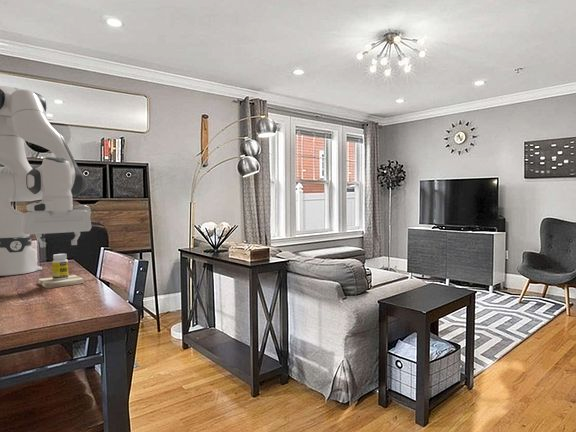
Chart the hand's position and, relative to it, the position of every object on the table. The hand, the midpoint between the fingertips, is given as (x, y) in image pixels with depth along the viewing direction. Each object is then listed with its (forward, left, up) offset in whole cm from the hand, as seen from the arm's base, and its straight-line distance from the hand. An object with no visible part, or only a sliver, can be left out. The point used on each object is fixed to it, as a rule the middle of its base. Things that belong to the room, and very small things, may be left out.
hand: (58, 246), depth 134 cm
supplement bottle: (+1, 0, -11) cm, 11 cm away
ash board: (+1, 0, -13) cm, 13 cm away
